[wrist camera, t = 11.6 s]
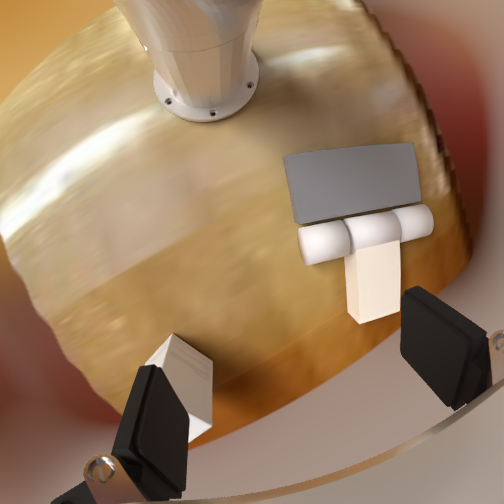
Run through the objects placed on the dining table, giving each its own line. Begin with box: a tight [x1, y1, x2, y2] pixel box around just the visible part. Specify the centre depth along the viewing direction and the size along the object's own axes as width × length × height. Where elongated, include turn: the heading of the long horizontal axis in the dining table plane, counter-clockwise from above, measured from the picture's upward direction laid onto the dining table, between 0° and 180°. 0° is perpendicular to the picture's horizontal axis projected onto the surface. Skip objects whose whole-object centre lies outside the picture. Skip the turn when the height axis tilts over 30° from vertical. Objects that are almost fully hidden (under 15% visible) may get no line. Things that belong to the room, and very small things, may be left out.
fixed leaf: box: [283, 143, 434, 265], centre depth 32 cm, size 13×18×4 cm
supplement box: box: [145, 333, 213, 443], centre depth 31 cm, size 7×7×13 cm
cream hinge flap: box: [343, 211, 401, 324], centre depth 34 cm, size 13×6×4 cm, turn 10°
